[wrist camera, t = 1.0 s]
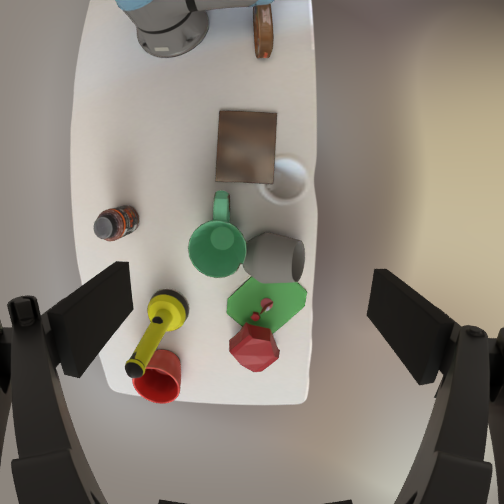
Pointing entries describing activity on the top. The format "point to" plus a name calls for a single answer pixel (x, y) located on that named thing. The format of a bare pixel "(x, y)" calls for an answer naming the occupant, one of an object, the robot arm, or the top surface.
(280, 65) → the top surface
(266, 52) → the tin
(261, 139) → the placemat
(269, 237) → the cup
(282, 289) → the red green faceted piece
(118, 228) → the supplement bottle
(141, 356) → the flashlight
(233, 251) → the mug
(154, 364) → the flower pot
